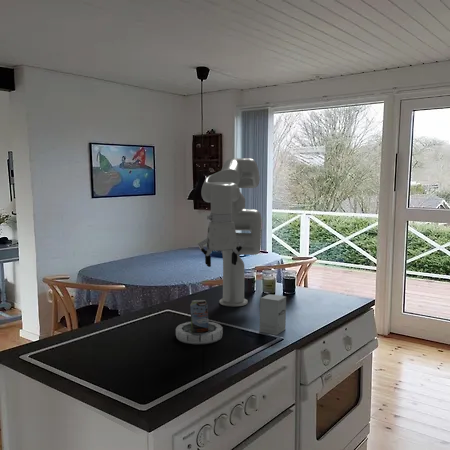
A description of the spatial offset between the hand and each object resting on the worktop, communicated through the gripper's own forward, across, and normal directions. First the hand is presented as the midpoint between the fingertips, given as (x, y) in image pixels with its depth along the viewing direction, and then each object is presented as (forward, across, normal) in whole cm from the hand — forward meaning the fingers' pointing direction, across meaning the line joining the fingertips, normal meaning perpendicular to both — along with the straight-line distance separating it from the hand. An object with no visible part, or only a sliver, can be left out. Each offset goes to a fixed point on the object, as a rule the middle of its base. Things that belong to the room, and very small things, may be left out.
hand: (221, 265), depth 166 cm
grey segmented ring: (+24, -10, -6) cm, 26 cm away
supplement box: (+24, +17, -8) cm, 31 cm away
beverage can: (+23, -10, -6) cm, 26 cm away
